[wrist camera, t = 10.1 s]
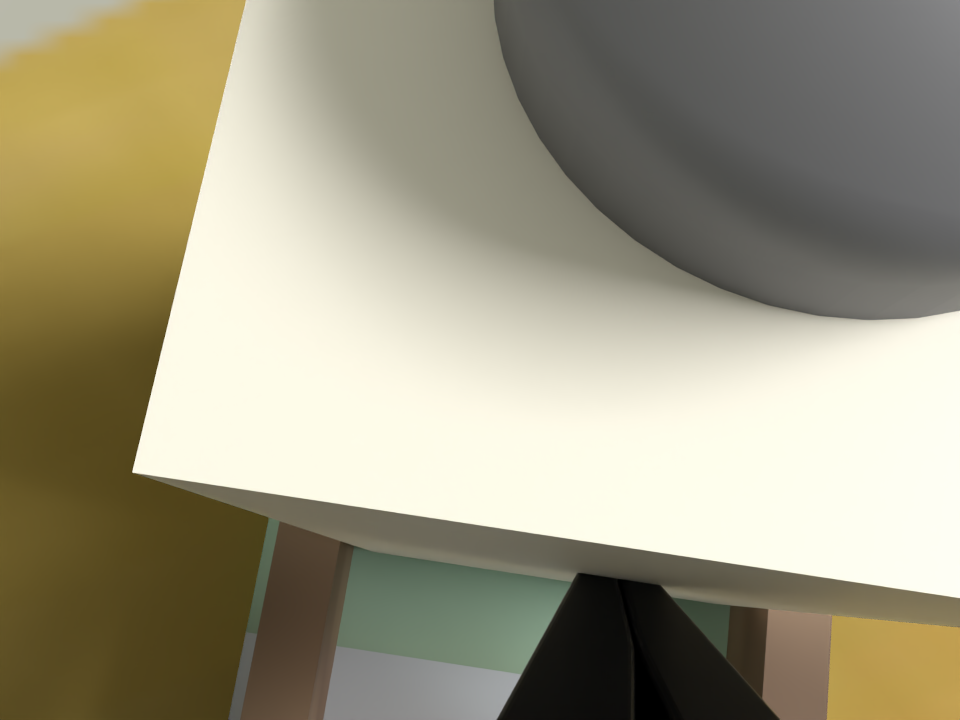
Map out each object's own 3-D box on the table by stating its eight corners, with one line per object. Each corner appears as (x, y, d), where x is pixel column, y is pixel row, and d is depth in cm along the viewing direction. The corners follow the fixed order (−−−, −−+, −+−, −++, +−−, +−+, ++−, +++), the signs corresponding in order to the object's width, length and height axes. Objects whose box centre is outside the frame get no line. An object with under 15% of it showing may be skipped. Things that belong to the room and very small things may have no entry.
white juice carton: (714, 603, 16) (1926, 719, 3) (374, 551, 16) (-3, 430, 3) (741, 279, 17) (1616, -638, 4) (428, 234, 17) (346, -814, 4)
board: (761, 1312, 14) (840, 1500, 11) (139, 1213, 14) (58, 1375, 11) (823, 252, 18) (892, 192, 16) (345, 182, 19) (325, 107, 16)
